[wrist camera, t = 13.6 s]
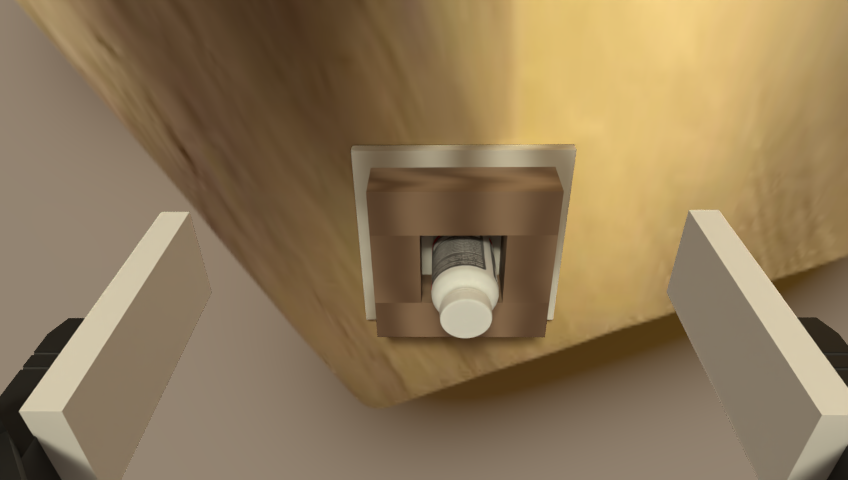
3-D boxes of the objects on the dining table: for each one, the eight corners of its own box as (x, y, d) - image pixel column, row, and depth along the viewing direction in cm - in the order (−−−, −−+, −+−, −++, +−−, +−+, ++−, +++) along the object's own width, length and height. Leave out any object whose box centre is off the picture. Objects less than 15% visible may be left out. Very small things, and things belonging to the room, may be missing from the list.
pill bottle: (419, 247, 54) (416, 321, 46) (460, 208, 52) (464, 280, 43) (464, 279, 56) (468, 355, 48) (505, 242, 53) (517, 317, 45)
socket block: (367, 312, 60) (362, 348, 56) (352, 145, 50) (344, 174, 45) (551, 312, 59) (559, 349, 55) (574, 144, 49) (586, 173, 45)
